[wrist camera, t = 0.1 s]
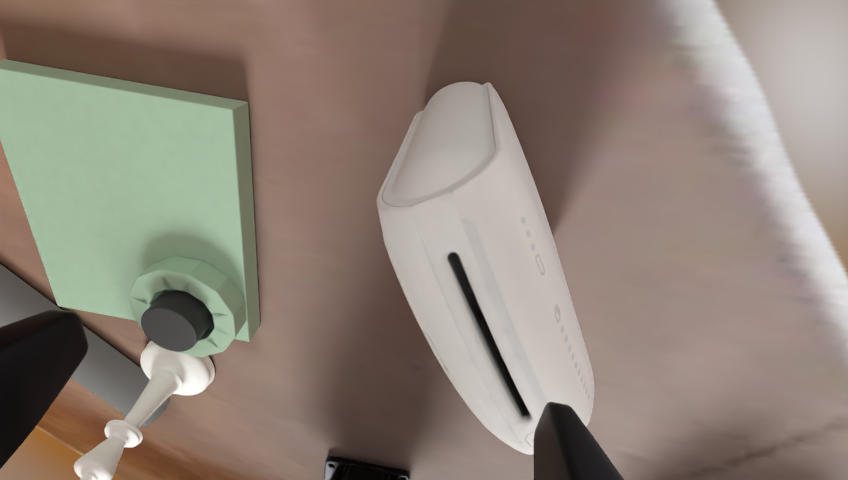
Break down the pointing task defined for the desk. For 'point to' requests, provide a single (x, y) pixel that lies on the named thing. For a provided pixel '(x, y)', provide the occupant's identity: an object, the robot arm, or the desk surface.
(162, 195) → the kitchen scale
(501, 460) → the desk surface
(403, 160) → the white rounded block
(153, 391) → the chess piece
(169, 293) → the button
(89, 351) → the gray half cylinder
